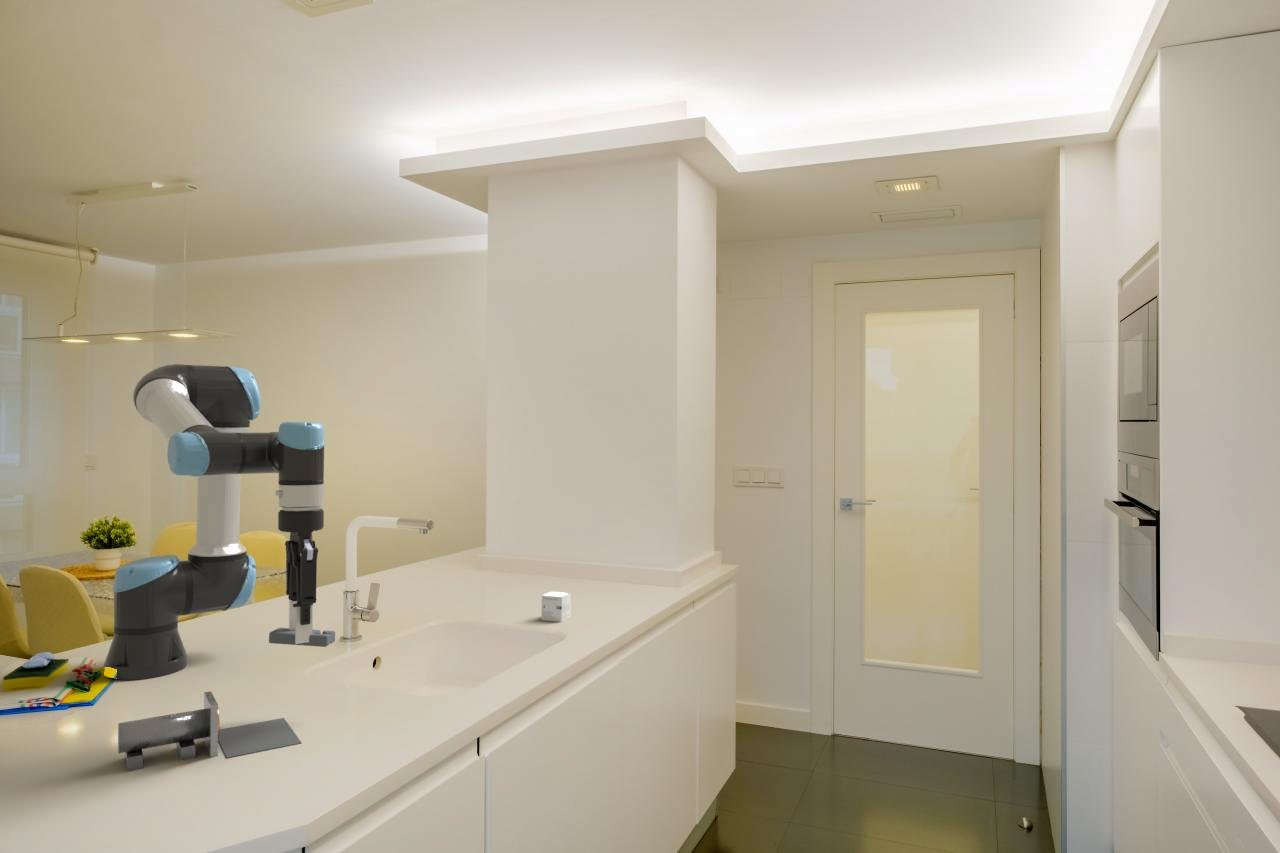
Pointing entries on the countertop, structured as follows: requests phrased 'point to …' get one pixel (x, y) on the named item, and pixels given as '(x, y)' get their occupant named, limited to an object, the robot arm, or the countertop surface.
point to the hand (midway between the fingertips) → (300, 639)
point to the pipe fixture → (171, 733)
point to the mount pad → (256, 737)
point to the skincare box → (556, 606)
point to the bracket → (289, 638)
